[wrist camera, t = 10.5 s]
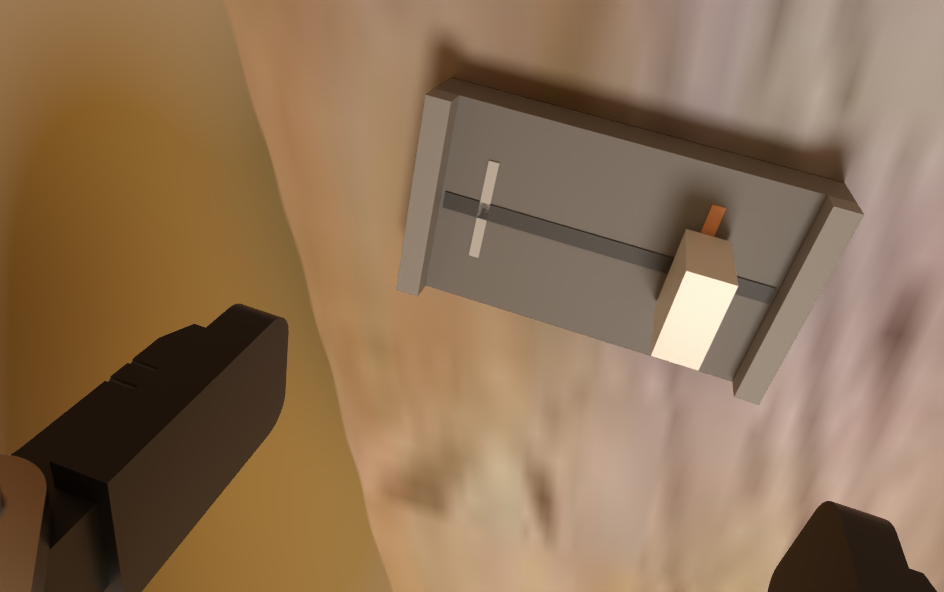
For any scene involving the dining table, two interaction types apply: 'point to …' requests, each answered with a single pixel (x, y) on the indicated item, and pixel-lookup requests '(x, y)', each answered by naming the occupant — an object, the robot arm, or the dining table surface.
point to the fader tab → (693, 299)
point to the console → (613, 225)
